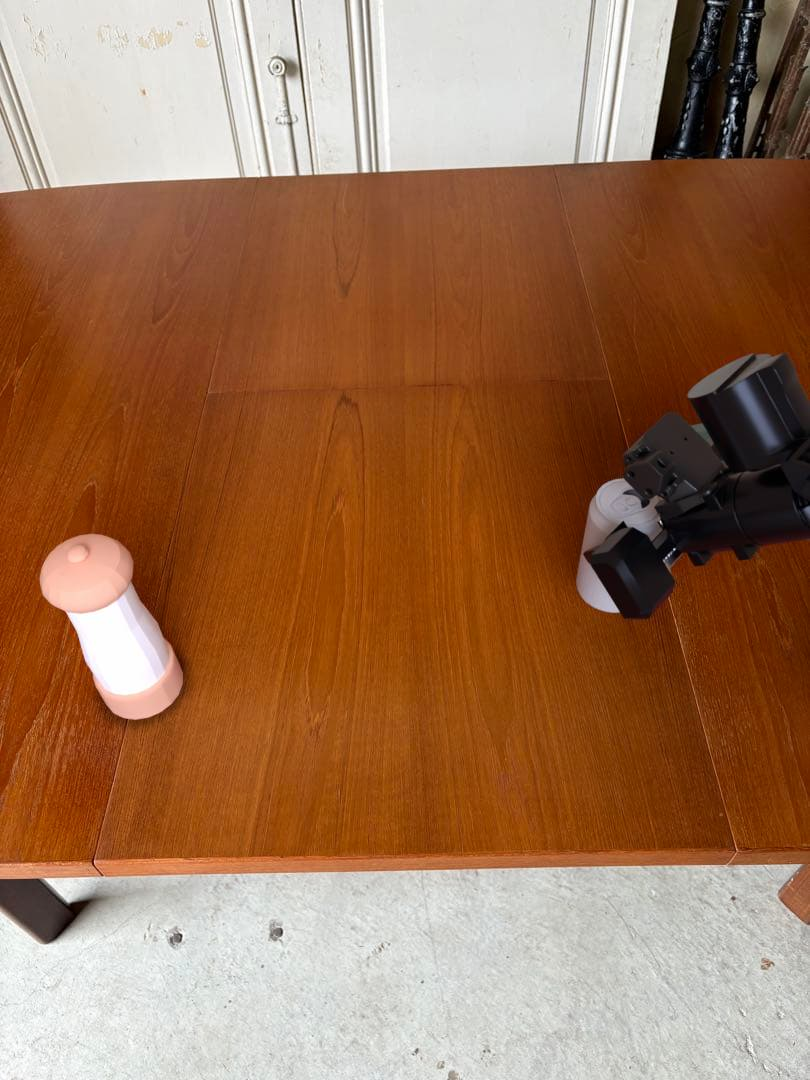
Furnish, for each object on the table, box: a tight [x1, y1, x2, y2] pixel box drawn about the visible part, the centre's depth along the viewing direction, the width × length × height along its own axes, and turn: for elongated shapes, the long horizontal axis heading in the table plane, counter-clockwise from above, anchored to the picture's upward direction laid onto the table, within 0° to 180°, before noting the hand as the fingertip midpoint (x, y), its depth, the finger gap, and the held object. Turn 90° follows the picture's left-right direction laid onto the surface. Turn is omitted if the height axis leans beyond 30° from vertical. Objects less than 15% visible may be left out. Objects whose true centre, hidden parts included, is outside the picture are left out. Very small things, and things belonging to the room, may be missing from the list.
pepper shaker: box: [39, 533, 184, 721], centre depth 68 cm, size 7×7×19 cm
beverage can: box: [575, 477, 664, 614], centre depth 72 cm, size 6×6×12 cm
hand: (607, 536), depth 72 cm, fingers closed on beverage can, 6 cm apart
